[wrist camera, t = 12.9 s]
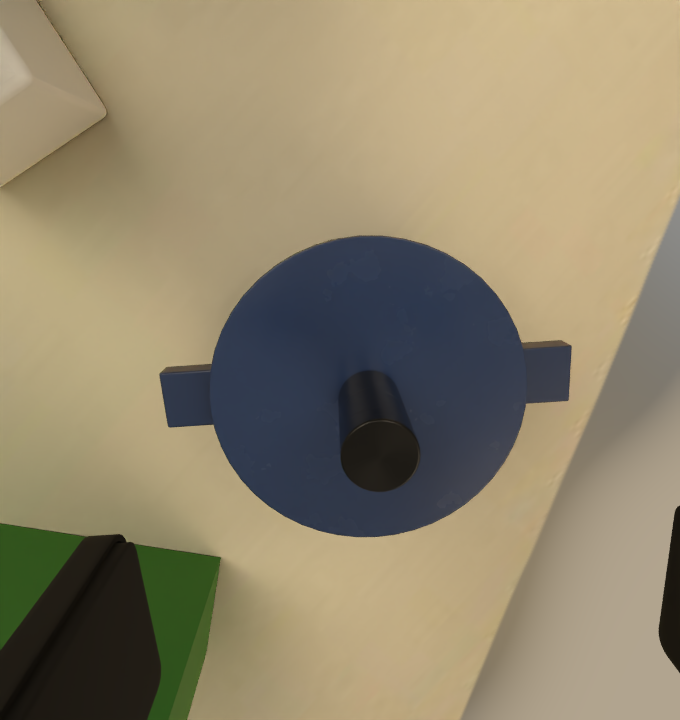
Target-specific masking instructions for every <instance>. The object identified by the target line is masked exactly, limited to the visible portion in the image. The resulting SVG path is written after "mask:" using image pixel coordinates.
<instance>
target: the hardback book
mask: <svg viewBox="0 0 680 720" xmlns="http://www.w3.org/2000/svg"><path fill="white" fill-rule="evenodd" d="M84 538H85V537H84V536H77V535H71V534H64V533H58V532H51V531H45V530H38V529H32V528H25V527H19V526H12V525H6V524H0V650H1V649H2V648H3V646H4V645H5V643H6V642H7V641H8V639H9V638H10V637H11V635H12V634H13V633H14V631H15V630H16V629H17V627H18V626H19V625H20V623H21V622H22V621H23V619H24V618H25V617H26V615H27V614H28V612H29V611H30V610H31V608H32V607H33V606H34V604H35V603H36V602H37V600H38V599H39V598H40V596H41V595H42V594H43V592H44V591H45V590H46V588H47V587H48V586H49V584H50V583H51V582H52V580H53V579H54V577H55V576H56V575H57V573H58V572H59V571H60V569H61V568H62V567H63V565H64V564H65V563H66V561H67V560H68V559H69V557H70V556H71V555H72V553H73V552H74V551H75V549H76V548H77V546H78V545H79V544H80V542H81V541H82V540H83V539H84ZM134 545H135V547H136V550H137V554H138V559H139V563H140V568H141V573H142V577H143V582H144V587H145V591H146V596H147V601H148V605H149V610H150V615H151V619H152V624H153V629H154V633H155V638H156V643H157V647H158V652H159V657H160V661H161V679H160V684H159V688H158V691H157V694H156V696H155V699H154V702H153V705H152V708H151V710H150V713H149V716H148V719H147V720H187V718H188V714H189V711H190V707H191V704H192V700H193V697H194V693H195V690H196V686H197V683H198V680H199V676H200V673H201V669H202V666H203V662H204V659H205V655H206V651H207V645H208V638H209V632H210V625H211V619H212V612H213V606H214V599H215V593H216V586H217V579H218V573H219V566H220V560H221V558H220V557H213V556H207V555H200V554H194V553H187V552H181V551H174V550H168V549H161V548H155V547H149V546H142V545H136V544H134Z"/></svg>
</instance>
